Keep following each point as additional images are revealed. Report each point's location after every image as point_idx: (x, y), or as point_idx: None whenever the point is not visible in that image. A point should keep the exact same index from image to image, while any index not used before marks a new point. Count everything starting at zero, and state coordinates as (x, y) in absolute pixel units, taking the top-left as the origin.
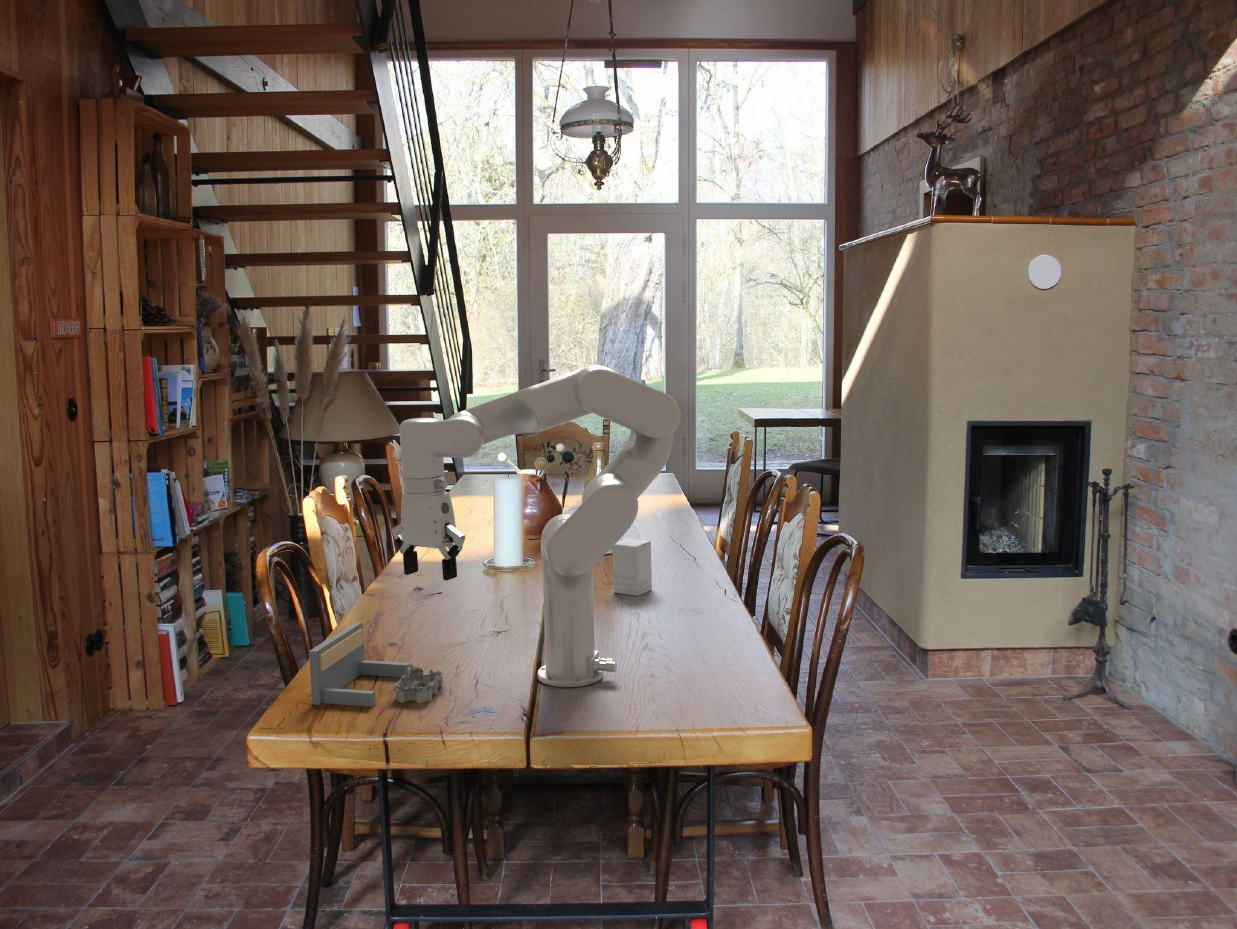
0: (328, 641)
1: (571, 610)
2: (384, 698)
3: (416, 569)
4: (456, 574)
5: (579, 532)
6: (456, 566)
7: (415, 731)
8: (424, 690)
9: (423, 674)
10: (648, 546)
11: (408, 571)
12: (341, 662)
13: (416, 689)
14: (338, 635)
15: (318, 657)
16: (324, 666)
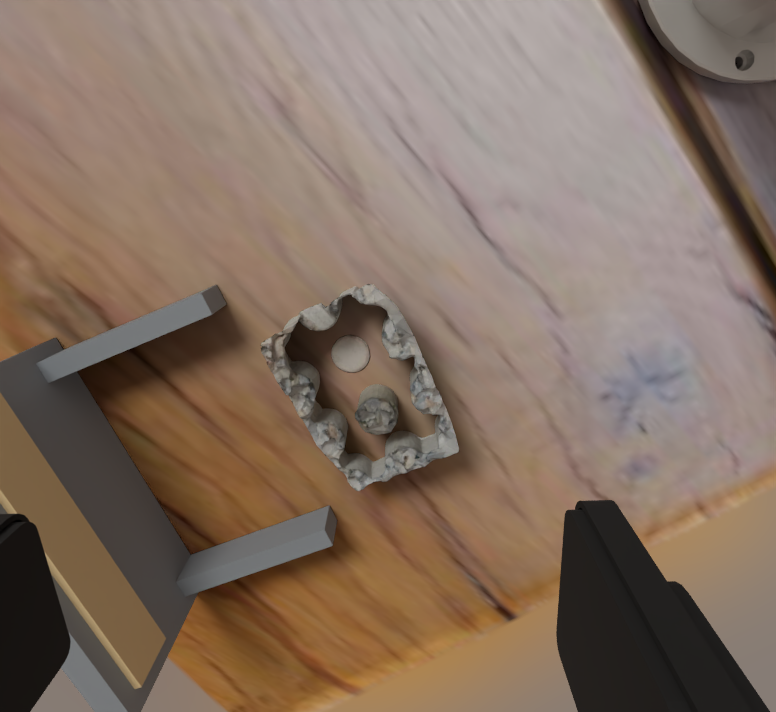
0: None
1: None
2: (312, 463)
3: (22, 555)
4: (618, 518)
5: None
6: (664, 579)
7: (560, 567)
8: (438, 436)
9: (314, 327)
10: None
11: (50, 662)
12: (95, 517)
13: (415, 449)
14: None
15: (141, 689)
16: (154, 637)
